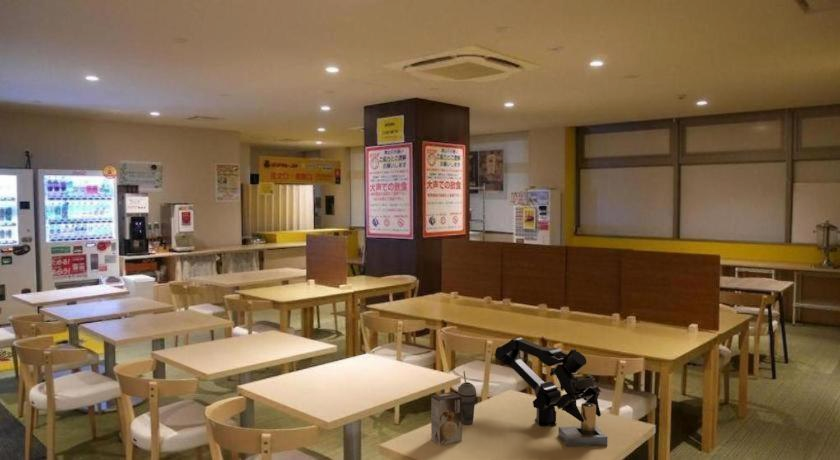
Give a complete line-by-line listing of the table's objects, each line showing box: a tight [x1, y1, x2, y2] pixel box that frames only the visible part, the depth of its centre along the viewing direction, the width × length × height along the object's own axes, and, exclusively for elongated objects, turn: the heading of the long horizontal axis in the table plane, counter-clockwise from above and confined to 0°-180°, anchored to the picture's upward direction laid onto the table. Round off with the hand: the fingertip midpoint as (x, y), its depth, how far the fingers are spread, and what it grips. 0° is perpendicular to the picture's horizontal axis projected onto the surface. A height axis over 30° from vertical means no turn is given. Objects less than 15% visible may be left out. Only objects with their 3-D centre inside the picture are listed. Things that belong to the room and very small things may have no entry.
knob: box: [580, 402, 597, 435], centre depth 212 cm, size 5×5×13 cm
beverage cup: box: [457, 370, 478, 427], centre depth 226 cm, size 7×7×20 cm
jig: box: [557, 425, 608, 448], centre depth 212 cm, size 14×10×3 cm
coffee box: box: [430, 391, 463, 446], centre depth 210 cm, size 9×6×16 cm
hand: (591, 418), depth 210 cm, fingers open, 9 cm apart
